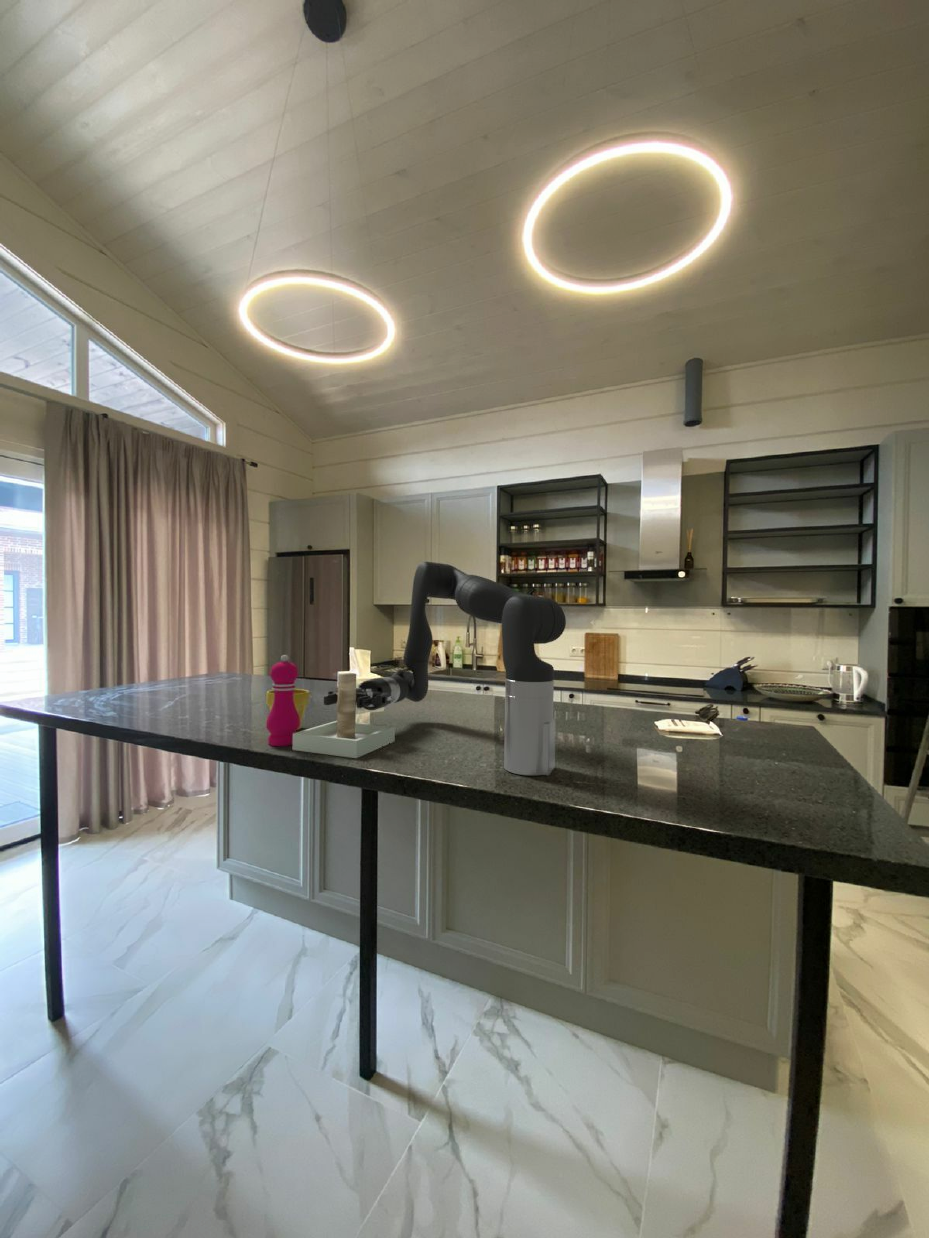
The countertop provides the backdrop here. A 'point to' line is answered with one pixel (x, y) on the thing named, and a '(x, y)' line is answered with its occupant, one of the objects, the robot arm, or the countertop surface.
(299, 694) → the plant pot
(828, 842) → the countertop surface
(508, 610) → the robot arm
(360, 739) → the bin
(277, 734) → the pepper mill
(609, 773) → the countertop surface
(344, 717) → the peg
